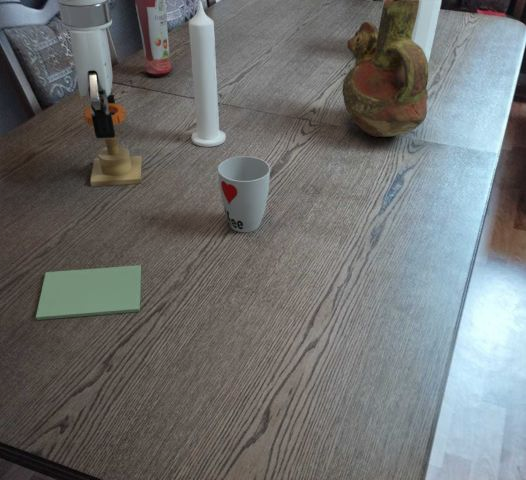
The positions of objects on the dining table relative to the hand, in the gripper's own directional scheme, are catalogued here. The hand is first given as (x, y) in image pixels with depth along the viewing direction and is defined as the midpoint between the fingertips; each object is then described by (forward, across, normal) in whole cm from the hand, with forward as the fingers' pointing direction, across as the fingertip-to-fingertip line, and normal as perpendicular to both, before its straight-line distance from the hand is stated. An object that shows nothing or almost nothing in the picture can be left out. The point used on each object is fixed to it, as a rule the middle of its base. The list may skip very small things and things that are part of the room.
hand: (107, 126), depth 97 cm
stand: (+9, 0, 0) cm, 9 cm away
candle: (+9, -12, +18) cm, 24 cm away
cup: (+9, +20, +22) cm, 31 cm away
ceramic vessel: (+9, -13, +54) cm, 57 cm away
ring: (-2, 0, 0) cm, 2 cm away
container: (+8, -54, +73) cm, 91 cm away
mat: (+9, +35, -2) cm, 36 cm away
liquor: (+9, -50, +8) cm, 52 cm away
